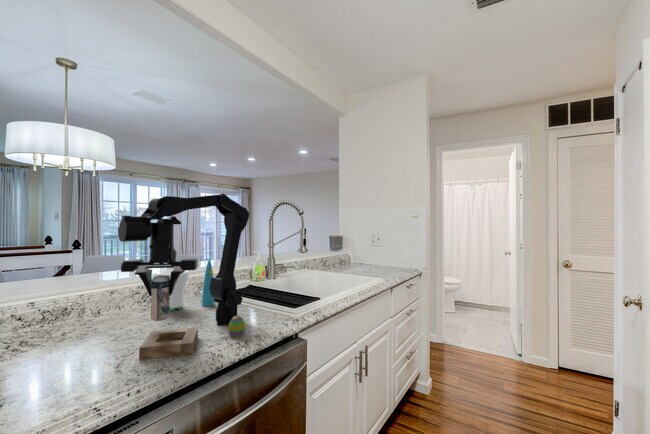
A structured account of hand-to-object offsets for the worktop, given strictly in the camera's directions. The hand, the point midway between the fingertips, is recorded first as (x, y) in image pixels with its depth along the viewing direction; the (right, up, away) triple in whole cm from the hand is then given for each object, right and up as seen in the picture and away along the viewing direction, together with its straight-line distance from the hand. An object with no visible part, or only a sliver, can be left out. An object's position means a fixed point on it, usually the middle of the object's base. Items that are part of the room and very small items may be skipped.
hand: (160, 295), depth 87 cm
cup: (-13, -14, +32) cm, 37 cm away
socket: (+5, -13, -5) cm, 15 cm away
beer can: (0, -7, 0) cm, 7 cm away
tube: (-1, -14, +38) cm, 41 cm away
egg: (+20, -14, +5) cm, 25 cm away
